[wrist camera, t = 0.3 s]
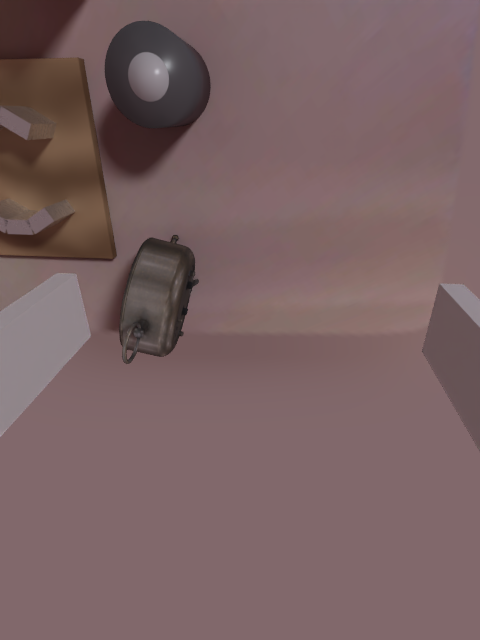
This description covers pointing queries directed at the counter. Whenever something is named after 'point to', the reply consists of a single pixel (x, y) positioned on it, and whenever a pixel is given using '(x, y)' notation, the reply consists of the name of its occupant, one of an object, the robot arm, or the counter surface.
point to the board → (54, 160)
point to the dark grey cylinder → (156, 76)
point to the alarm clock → (156, 298)
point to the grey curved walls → (11, 213)
